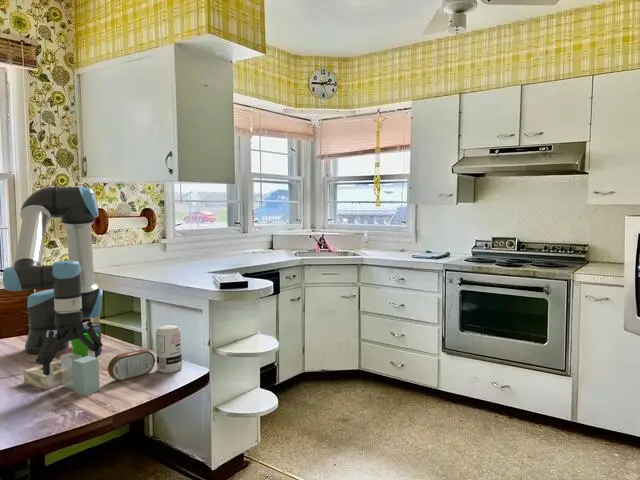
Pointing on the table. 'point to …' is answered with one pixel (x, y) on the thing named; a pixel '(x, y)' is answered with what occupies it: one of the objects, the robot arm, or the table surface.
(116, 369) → the tin
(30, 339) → the robot arm
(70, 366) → the grey rectangular block
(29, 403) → the table surface
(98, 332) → the soda can
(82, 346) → the cup
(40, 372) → the slotted holder
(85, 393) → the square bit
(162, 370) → the supplement can
